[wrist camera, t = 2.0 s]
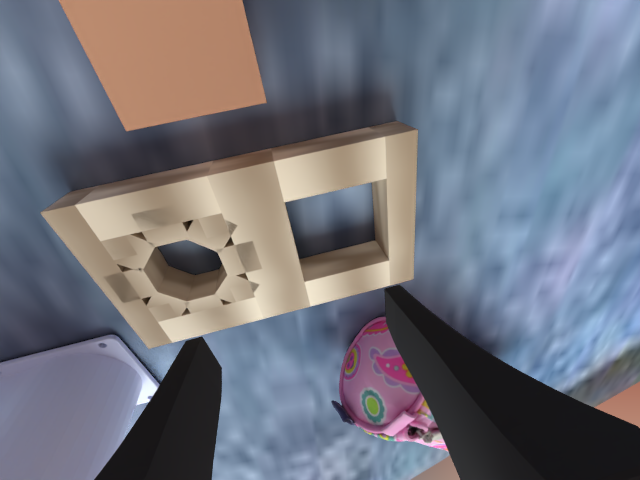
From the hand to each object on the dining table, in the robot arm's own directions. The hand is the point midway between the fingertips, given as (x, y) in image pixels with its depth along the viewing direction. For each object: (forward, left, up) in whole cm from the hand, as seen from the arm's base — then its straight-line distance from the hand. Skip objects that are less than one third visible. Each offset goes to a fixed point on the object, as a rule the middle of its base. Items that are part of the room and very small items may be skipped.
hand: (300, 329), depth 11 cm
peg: (-1, +10, -9) cm, 13 cm away
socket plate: (-1, 0, -9) cm, 9 cm away
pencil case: (+10, -20, -9) cm, 24 cm away
